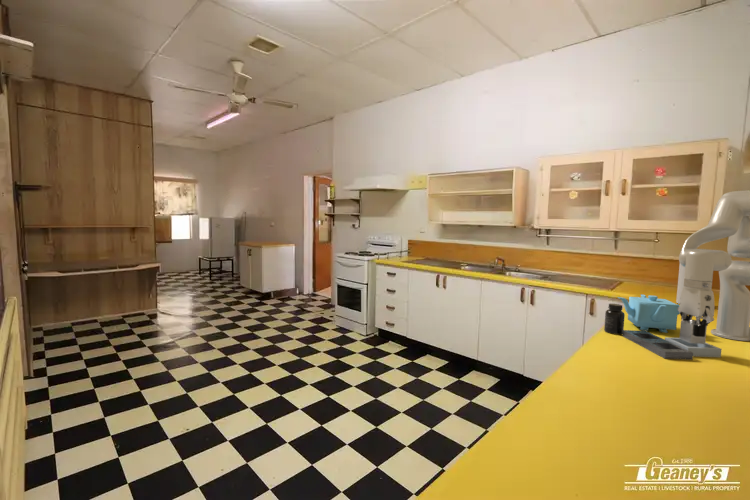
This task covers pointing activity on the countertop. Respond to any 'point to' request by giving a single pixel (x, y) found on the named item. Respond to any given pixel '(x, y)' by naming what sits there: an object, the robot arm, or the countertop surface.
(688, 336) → the beige block with knob
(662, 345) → the rail
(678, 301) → the cylinder vase
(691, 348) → the parts tray
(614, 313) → the supplement bottle
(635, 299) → the teakettle
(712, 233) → the robot arm
